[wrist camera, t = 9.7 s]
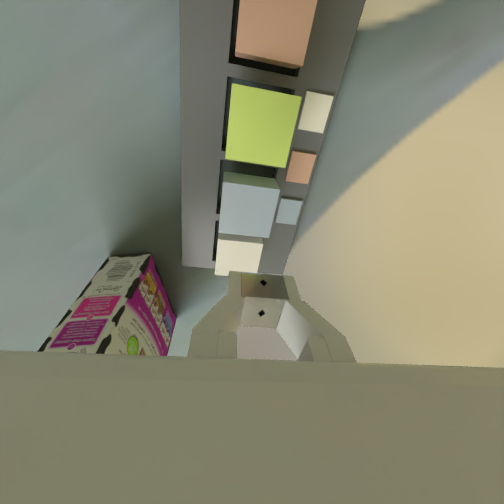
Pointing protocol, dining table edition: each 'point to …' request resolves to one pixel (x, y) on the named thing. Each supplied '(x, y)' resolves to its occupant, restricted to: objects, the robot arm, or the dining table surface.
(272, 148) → the lime green cube
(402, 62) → the dining table surface
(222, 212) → the key slate
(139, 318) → the candy bar box
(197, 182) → the keypad board
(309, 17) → the salmon cube
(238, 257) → the key ivory
